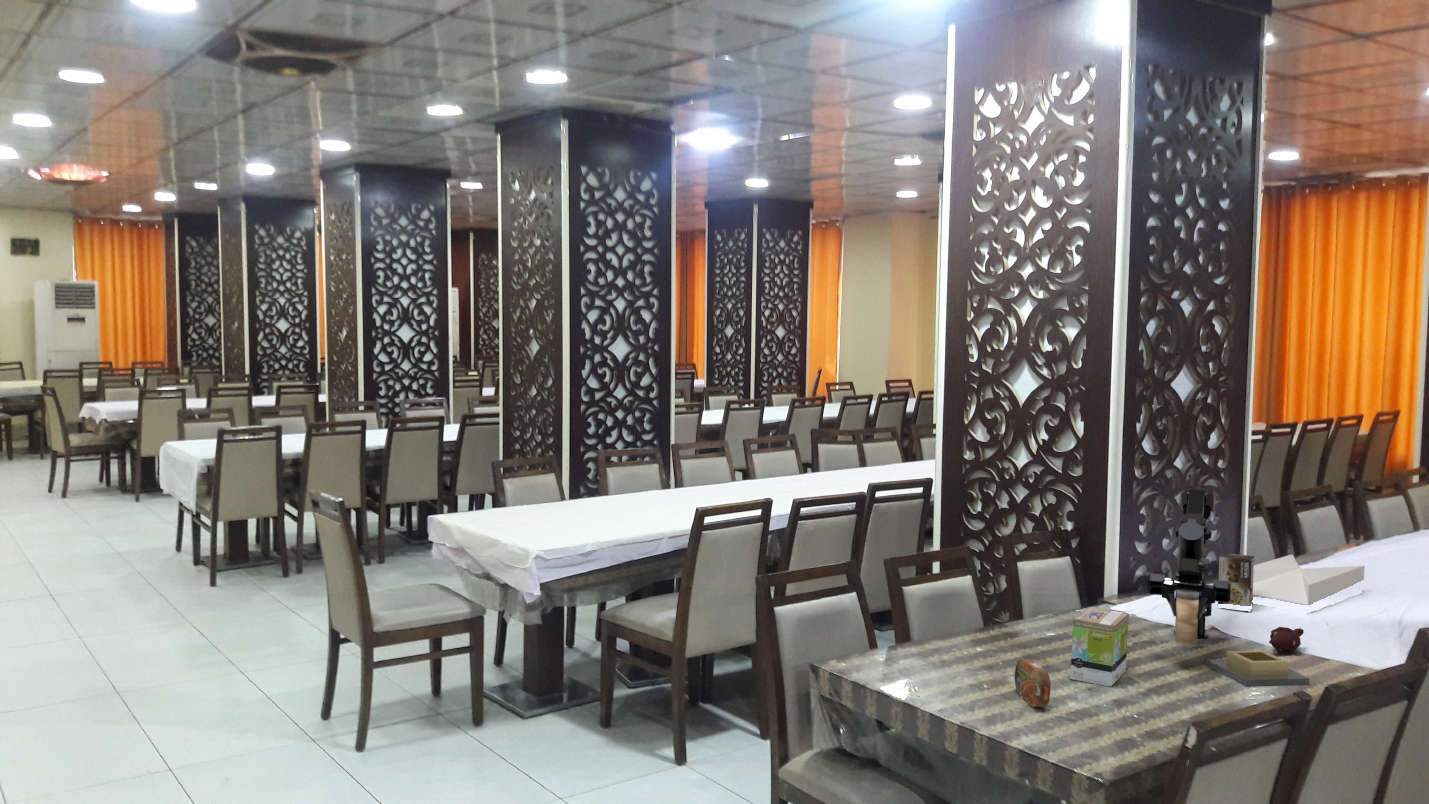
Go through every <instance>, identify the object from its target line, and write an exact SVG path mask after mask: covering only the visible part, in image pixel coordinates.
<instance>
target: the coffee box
mask: <svg viewBox="0 0 1429 804" xmlns="http://www.w3.org/2000/svg"><path fill="white" fill-rule="evenodd" d="M1254 565H1255V556H1254V555H1247V554H1246V555H1245V554H1237V553H1236V554H1235V553H1225V552H1221V554H1220V556H1219V557H1218V580H1221V581H1229V582H1230V584H1231V591H1230V602H1218V601H1217V605H1218V604H1233V605H1240V606H1251V604H1252V600H1253V571H1254ZM1252 605H1253V604H1252Z"/></svg>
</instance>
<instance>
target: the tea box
mask: <svg viewBox="0 0 1429 804" xmlns="http://www.w3.org/2000/svg"><path fill="white" fill-rule="evenodd" d="M1129 616H1130V615H1129V613H1128V612H1125V611H1124V612H1121V611H1116V610H1110V609H1109V610H1108V609H1103V608H1097V607H1096V608H1095V607H1089V606H1087V608H1086V609H1084V610H1083V611H1082V612H1080V613H1079V614H1078V615H1077V616H1075V617H1074V618H1073V627H1072V642H1071V643H1072V644H1071V658H1070V671H1069V673H1070V674H1069V678H1070V680H1074V681H1078V682H1083V683H1088V684H1094V685H1099V686H1104V687H1112V686H1113V685H1114V684H1115V683H1116V681H1118V680H1119V679H1120V677H1122V675H1123V674H1125V672H1126V668H1127V655H1128V654H1127V652H1128V638H1129V637H1128V635H1129V618H1130V617H1129Z"/></svg>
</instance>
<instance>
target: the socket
mask: <svg viewBox="0 0 1429 804" xmlns="http://www.w3.org/2000/svg"><path fill="white" fill-rule="evenodd" d="M1289 662H1290V661H1287V660H1285V659H1283V658H1281V657H1278V656H1277V655H1274V654H1272V653H1269V652H1267V651H1266V650H1264V649H1262V650H1260V649H1259V650H1257V649H1255V650H1227V651H1226V658H1223V659H1222V658H1221V659H1206V662H1205V663H1206V664H1205V666H1206V667H1208V668H1210V669H1212V670H1214V671H1215V672H1218V673H1219V674H1221V675H1223V676H1225V677H1228V678H1229V679H1231V680H1233V681H1235V682H1237V683H1239V684H1242V685H1243V686H1245V687H1270V686H1272V687H1273V686H1275V687H1276V686H1302V685H1303V686H1306V685H1310V677H1308V676H1305V675H1304V674H1301V673H1299V672H1297V671H1294V670H1293V669H1290V668H1289V665H1290V664H1289Z"/></svg>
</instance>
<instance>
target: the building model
mask: <svg viewBox="0 0 1429 804" xmlns="http://www.w3.org/2000/svg"><path fill="white" fill-rule="evenodd" d="M1365 567H1366V566H1365V565H1353V566H1350V565H1349V566H1333V567H1327V566H1326V567H1312V568H1311V567H1310V568H1309V567H1308V568H1300V565H1299V564H1298V562H1297V559H1295V557H1294V555H1293V554H1288V555H1285V556H1281V557H1279V558H1274V559H1272V560H1268V561H1267V560H1266V561H1264V562H1261V563H1258V564H1254V571H1253V597H1261V598H1269V599H1276V600H1280V601H1284V602H1290V603H1294V604H1300V605H1311V604H1313V603H1314V602H1317V601H1319V600H1321V599H1324V598H1326V597H1328V596H1331V595H1333V594H1335V593H1337V592H1339V591H1341V590H1343V589H1346V588H1348V587H1350V586H1353V585H1354V584H1356V583H1358V582H1361V581H1362V580H1364V581H1365Z"/></svg>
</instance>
